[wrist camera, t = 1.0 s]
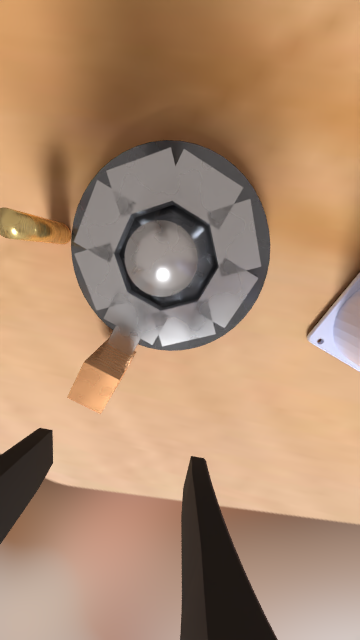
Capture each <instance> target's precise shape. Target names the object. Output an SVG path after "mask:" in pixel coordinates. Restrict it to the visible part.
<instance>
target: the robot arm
mask: <svg viewBox="0 0 360 640" xmlns="http://www.w3.org/2000/svg"><path fill="white" fill-rule="evenodd" d="M307 339H308V341H309V342H310V343H312V344H314V345H315V346H317V347H319V348H320V349H322V350H324V351H325V352H327V353H329V354H331V355H332V356H334V357H336V358H337V359H339V360H341V361H342V362H344V363H346V364H347V365H349V366H351V367H353V368H354V369H356V370H358V371H359V372H360V273H359V274H358V275H357V276H356V277H355V279H354V280H353V281H352V282H351V283H350V285H349V286H348V287H347V288H346V290H345V291H344V292H343V293H342V294H341V296H340V297H339V298H338V299H337V300H336V302H335V303H334V304H333V305H332V306H331V308H330V309H329V310H328V311H327V312H326V314H325V315H324V316H323V317H322V318H321V320H320V321H319V322H318V323H317V325H316V326H315V327H314V328H313V329H312V331H311V332H310V333H309V334H308V336H307ZM319 339H321V341H320V342H318V343H317V341H318V340H319ZM52 464H53V437H52V430H48V429H43V428H39V429H37V430H36V431H34V432H33V433H32V434H30V435H29V436H27V437H26V438H24V439H23V440H22V441H20V442H19V443H17V444H16V445H14V446H13V447H12V448H10V449H9V450H7V451H6V452H5V453H3V454H2V455H0V544H1V542H2V541H3V539H4V538H5V537H6V535H7V534H8V532H9V531H10V529H11V528H12V526H13V525H14V524H15V522H16V520H17V519H18V518H19V516H20V515H21V514H22V512H23V511H24V509H25V508H26V506H27V505H28V503H29V502H30V500H31V499H32V497H33V496H34V494H35V493H36V492H37V490H38V488H39V487H40V485H41V483H42V481H43V480H44V478H45V476H46V475H47V473H48V471H49V469H50V467H51V465H52ZM181 522H182V617H181V636H180V640H277V638H276V636H275V634H274V632H273V630H272V628H271V626H270V624H269V622H268V620H267V618H266V616H265V614H264V612H263V610H262V608H261V605H260V603H259V601H258V599H257V597H256V595H255V593H254V591H253V589H252V586H251V584H250V582H249V580H248V578H247V576H246V573H245V571H244V569H243V566H242V564H241V562H240V559H239V557H238V554H237V552H236V550H235V547H234V545H233V542H232V540H231V537H230V535H229V532H228V529H227V527H226V524H225V521H224V519H223V516H222V513H221V510H220V507H219V504H218V501H217V498H216V495H215V492H214V489H213V486H212V482H211V479H210V475H209V472H208V468H207V464H206V460H205V459H204V458H199V457H193V456H191V459H190V463H189V467H188V471H187V475H186V479H185V483H184V488H183V501H182V520H181Z"/></svg>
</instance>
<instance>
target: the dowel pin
mask: <svg viewBox="0 0 360 640" xmlns="http://www.w3.org/2000/svg"><path fill="white" fill-rule="evenodd" d="M0 235H2V236H3V237H5V238H9V239H18V240H27V241H36V242H46V243H55V244H66V243H68V242H69V241H70V239H71V232H70V229H69V228H68V226H67V225H65V224H63V223H60V222H57V221H53V220H49V219H46V218H42V217H38V216H34V215H31V214H27V213H23V212H20V211H16V210H12V209H9V208H0Z"/></svg>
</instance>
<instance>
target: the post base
mask: <svg viewBox="0 0 360 640" xmlns="http://www.w3.org/2000/svg"><path fill="white" fill-rule="evenodd" d="M170 147H171V150H172V154H173V158H174V162H175V167H176V164H177V162H178V160H179V158H180V156H181V154H182V152H183V150H184V149H185V150H187V151H188V152H190V153H191V154H193V155H194V156H196V157H197V158H199V159H200V160H202V161H203V162H205V163H206V164H208V165H210V166H211V167H213V168H214V169H216V170H217V171H219V172H220V173H222V174H223V175H225V176H226V177H228V178H229V179H231V180H232V181H234V182H236V183H237V184H239V185H240V186H242V187H243V189H242V191H241V193H240V194H239V196H238V198H237V200H236V201H235V203H239V202H242V201H245V200H248V199H250V200H251V206H252V212H253V218H254V225H255V231H256V237H257V243H258V249H259V256H260V262H261V267H257V268H254V269H250V270H246V271H248V272H249V273H251V274H253V275H254V276H256V277H257V278H258V280H257V281H256V283H255V284H254V286H253V287H252V289H251V290H250V292H249V293H248V294H247V296H246V297H245V299H244V300H243V302H242V303H241V305H240V306H239V308H238V309H237V311H236V312H235V314H234V315H233V317H232V318H231V319H230V321H229V322H228V324H227V325H226V327H225V328H223V327H222V326H220V325H218V324H216V323H215V322H213V324H214V329H215V333H216V334H214V335H210V336H205V337H201V338H197V339H192V340H188V341H184V342H179V343H175V344H171V345H166V346H162V344H161V341H160V337H159V335H158V336H157V338H156V340H155V342H154V343H153V345H151V344H149V343H148V342H146V341H144V340H142V339H140V341H139V343H138V344H139V345H142V346H145V347H148V348H153V349H158V350H169V351H172V350H185V349H191V348H195V347H199V346H202V345H205V344H207V343H210V342H212V341H214V340H216V339H218V338H220V337H221V336H223V335H225V334H226V333H227V332H229V331H230V330H231V329H233V328H234V327H235V326H236V325H237V324H238V323H239V322H240V321H241V320H242V319H243V318H244V317H245V316H246V314H247V313H248V312H249V311H250V309H251V308H252V306H253V305H254V303H255V301H256V300H257V298H258V296H259V294H260V292H261V289H262V287H263V284H264V281H265V278H266V275H267V271H268V265H269V259H270V236H269V228H268V224H267V219H266V215H265V212H264V209H263V207H262V204H261V202H260V200H259V198H258V196H257V194H256V192H255V190H254V188H253V187H252V186H251V184H250V183H249V181H248V180H247V179H246V177H245V176H244V175H243V174H242V173H241V172H240V171H239V170H238V169H237V168H236V167H235V166H234V165H233V164H232V163H230V162H229V161H228V160H227V159H225V158H224V157H223V156H221V155H219V154H217V153H215V152H214V151H212V150H210V149H208V148H205V147H202V146H200V145H197V144H193V143H188V142H183V141H169V140H164V141H156V142H149V143H146V144H142V145H139V146H136V147H134V148H132V149H129V150H127V151H125V152H123V153H121V154H120V155H118V156H117V157H115V158H114V159H112V160H111V161H110V162H109V163H108V164H107V165H105V166H104V167H103V168H102V169H101V170H100V171H99V172H98V173H97V175H96V176H95V177H94V178H93V180H92V181H91V182H90V184H89V185H88V187H87V189H86V190H85V192H84V194H83V196H82V198H81V200H80V203H79V205H78V207H77V211H76V214H75V218H74V222H73V228H72V238H71V251H72V261H73V266H74V271H75V275H76V278H77V281H78V283H79V286H80V288H81V290H82V293H83V295H84V297H85V298H86V300H87V302H88V303H89V305H90V306H91V308H92V309H93V310H94V312H95V313H96V314H97V316H98V317H99V318H100V319H101V320H102V321H103V322H104V323H105V324H106V325H107V326H108V327H110V328H111V329H112V330H114V328H115V326H116V325H114V324H113V323H111V322H109V321H107V320H105V319H104V317H105V315H106V312H107V310H108V308H109V307H108V308H104V309H101V310H97V311H96V308H95V306H94V303H93V300H92V298H91V295H90V293H89V290H88V288H87V285H86V283H85V280H84V278H83V275H82V273H81V270H80V267H79V265H78V262H77V260H76V257H75V255H74V254H75V253H78V252H82V251H85V250H87V249H85V248H83V247H82V246H80V245H78V244H76V243H75V242H74V240H75V237H76V235H77V232H78V230H79V227H80V224H81V222H82V219H83V216H84V214H85V211H86V208H87V206H88V203H89V200H90V198H91V195H92V192H93V190H94V187H95V184H96V182H97V180H98V181H100V182H102V183H103V184H105V185H107V186H108V187H110V188H111V185H110V181H109V178H108V175H107V172H106V171H107V170H110V169H112V168H115V167H118V166H121V165H123V164H126V163H129V162H132V161H134V160H137V159H140V158H143V157H145V156H148V155H151V154H154V153H156V152H159V151H162V150H165V149H168V148H170ZM111 189H112V188H111ZM235 203H234V204H235ZM119 255H120V258H121V261H122V264H123V267H124V270H125V273H126V276H127V279H128V282H129V285H130V288H131V290H132V291H134V292H136V293H137V294H139V295H141V296H143V297H145V298H146V299H148V300H150V301H152V302H153V303H155V304H157V305H159V306H160V307H162V308H164V307H168V306H172V305H176V304H180V303H184V302H187V301H191V300H195V299H198V297H199V296H200V294H201V292H202V291H203V289H204V287H205V286H206V284H207V282H208V281H209V279H210V277H211V276H212V274H213V273H214V271H215V269H216V268H217V263H216V259H215V254H214V250H213V245H212V241H211V236H210V231H209V227H208V226H207V225H205V224H204V223H202V222H201V221H199V220H197V219H196V218H194V217H192V216H191V215H189V214H188V213H186V212H184V211H183V210H181V209H180V208H178V207H176V206H175V205H171V206H168V207H165V208H162V209H159V210H156V211H153V212H150V213H147V214H144V215H141V216H137V217H135V219H134V221H133V224H132V226H131V228H130V230H129V232H128V235H127V237H126V239H125V241H124V243H123V246H122V248H121V250H120V252H119Z"/></svg>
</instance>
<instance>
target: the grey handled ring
mask: <svg viewBox="0 0 360 640" xmlns="http://www.w3.org/2000/svg"><path fill="white" fill-rule="evenodd" d="M106 172H107V175H108V178H109V181H110V185H111V188H112V189H111V188H110V187H108V186H107V185H105V184H103V183H102V182H100V181H98V180H97V182H96V184H95V187H94V190H93V192H92V195H91V198H90V200H89V203H88V206H87V208H86V211H85V214H84V216H83V219H82V222H81V224H80V227H79V230H78V232H77V235H76V237H75V240H74V242H75V243H76V244H78V245H80V246H82V247H83V248H85V249H87V250H85V251H82V252H78V253H75V254H74V255H75V257H76V260H77V262H78V265H79V267H80V270H81V273H82V275H83V278H84V280H85V283H86V285H87V288H88V290H89V293H90V295H91V298H92V300H93V303H94V306H95V308H96V311H97V310H101V309H104V308H108V307H109V308H108V310H107V312H106V315H105V317H104V319H105V320H107V321H109V322H111V323H113V324H114V325H116V326H115V328H114V330H113V332H112V334H111V336H110V338H109V339H108V340H107V341H106V342H104V343H103V344H102V345H101V346H100V347H99V348H98V349H97V350H96V351H95V352H94V353H93V354H92V355H91V356H90V357H89V358H88V359H87V360H86V361H85V362H84V363H83V365H82V367H81V369H80V372H79V374H78V376H77V378H76V380H75V382H74V384H73V386H72V388H71V391H70V393H69V395H68V397H67V398H69V399H71V400H73V401H75V402H77V403H79V404H81V405H83V406H85V407H87V408H89V409H91V410H94V411H96V412H98V413H100V414H101V413H102V411H103V409H104V408H105V406H106V404H107V402H108V401H109V399H110V397H111V396H112V394H113V392H114V391H115V389H116V387H117V386H118V384H119V382H120V380H121V379H122V377H123V375H124V373H125V372H126V370H127V368H128V366H129V364H130V363H131V361H132V359H133V357H134V355H135V354H136V352H135V351H134V350H135V348H136V347H137V345H138V343H139V341H140V339H142V340H144V341H146V342H148V343H149V344H151V345H153V343H154V342H155V340H156V338H157V336H158V335H159V337H160V341H161V344H162V346H166V345H171V344H175V343H179V342H184V341H188V340H192V339H197V338H201V337H205V336H210V335H214V334H216V333H215V329H214V324H213V322H215V323H216V324H218V325H220V326H222V327H223V328H225V327H226V325H227V324H228V322H229V321H230V319H231V318H232V317H233V315H234V314H235V312H236V311H237V309H238V308H239V306H240V305H241V303H242V302H243V300H244V299H245V297H246V296H247V294H248V293H249V292H250V290H251V289H252V287H253V286H254V284H255V283H256V281H257V280H258V278H257V277H256V276H254V275H253V274H251V273H249V272H248V271H246V270H250V269H254V268H257V267H261V262H260V256H259V249H258V243H257V237H256V231H255V225H254V218H253V212H252V206H251V200H250V199H248V200H245V201H242V202H239V203H235V201H236V200H237V198H238V196H239V194H240V193H241V191H242V189H243V187H242V186H240V185H239V184H237V183H236V182H234V181H232V180H231V179H229V178H228V177H226V176H225V175H223V174H222V173H220V172H219V171H217V170H216V169H214V168H213V167H211V166H210V165H208V164H206V163H205V162H203V161H202V160H200V159H199V158H197V157H196V156H194V155H193V154H191V153H190V152H188V151H187V150H185V149H184V150H183V152H182V154H181V156H180V158H179V160H178V162H177V164H176V167H175V162H174V158H173V154H172V150H171V147H170V148H168V149H165V150H162V151H159V152H156V153H154V154H151V155H148V156H145V157H143V158H140V159H137V160H134V161H132V162H129V163H126V164H123V165H121V166H118V167H115V168H112V169H110V170H107V171H106ZM234 203H235V204H234ZM171 205H175V206H176V207H178V208H180V209H181V210H183V211H184V212H186V213H188V214H189V215H191V216H192V217H194V218H196V219H197V220H199V221H201V222H202V223H204V224H205V225H207V226H208V227H209V231H210V236H211V241H212V245H213V250H214V254H215V259H216V263H217V268H216V269H215V271H214V273H213V274H212V276H211V277H210V279H209V281H208V282H207V284H206V286H205V287H204V289H203V291H202V292H201V294H200V296H199V297H198V299H195V300H191V301H187V302H184V303H180V304H176V305H172V306H168V307H164V308H162V307H160V306H159V305H157V304H155V303H153V302H152V301H150V300H148V299H146V298H145V297H143V296H141V295H139V294H137V293H136V292H134V291H132V290H131V288H130V285H129V282H128V279H127V276H126V273H125V270H124V267H123V264H122V261H121V258H120V255H119V252H120V250H121V248H122V246H123V243H124V241H125V239H126V237H127V235H128V232H129V230H130V228H131V226H132V224H133V221H134V219H135V217H137V216H141V215H144V214H147V213H150V212H153V211H156V210H159V209H162V208H165V207H168V206H171Z"/></svg>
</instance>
